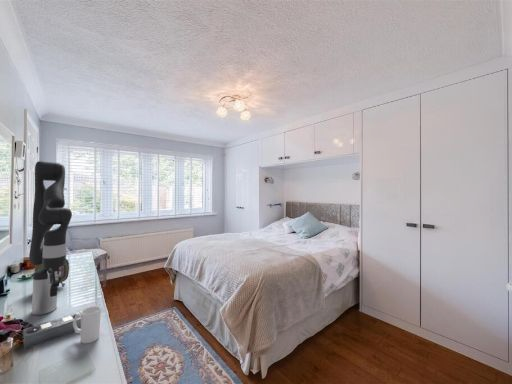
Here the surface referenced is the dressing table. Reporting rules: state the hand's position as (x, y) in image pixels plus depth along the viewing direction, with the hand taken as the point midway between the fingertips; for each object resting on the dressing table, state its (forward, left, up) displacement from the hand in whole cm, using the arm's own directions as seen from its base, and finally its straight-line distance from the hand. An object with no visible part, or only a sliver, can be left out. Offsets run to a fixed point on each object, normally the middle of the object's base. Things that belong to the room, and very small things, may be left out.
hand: (53, 295), depth 98 cm
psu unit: (0, +2, -17) cm, 17 cm away
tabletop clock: (-58, +9, -17) cm, 62 cm away
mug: (+13, +9, -17) cm, 23 cm away
